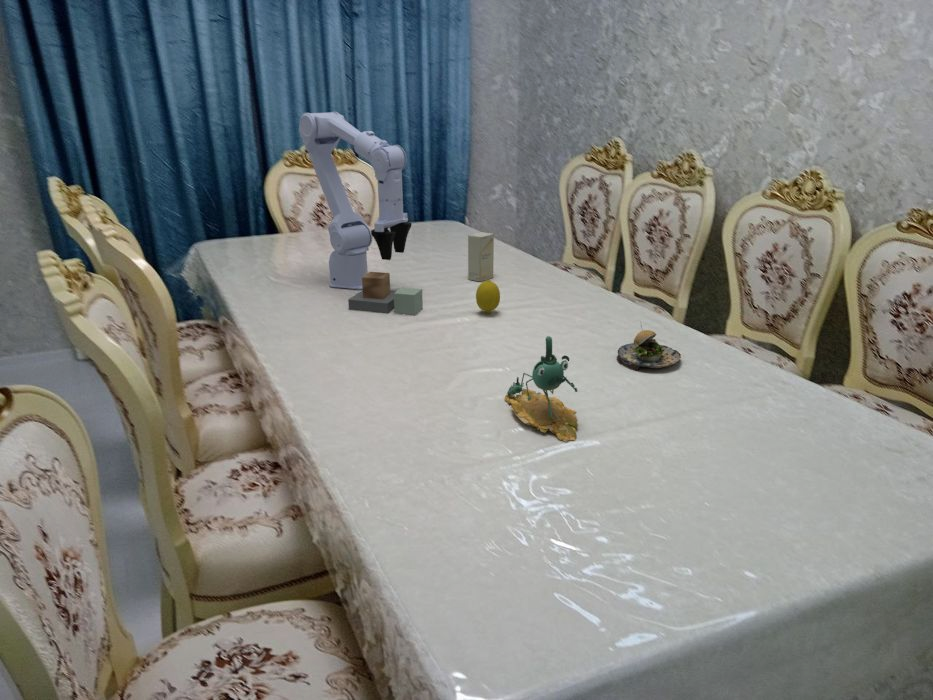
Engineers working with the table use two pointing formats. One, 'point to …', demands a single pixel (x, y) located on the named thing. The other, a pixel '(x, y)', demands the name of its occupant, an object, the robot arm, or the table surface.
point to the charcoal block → (372, 303)
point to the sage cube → (408, 301)
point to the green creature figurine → (545, 398)
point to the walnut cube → (376, 285)
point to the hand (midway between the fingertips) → (393, 255)
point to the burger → (646, 353)
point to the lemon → (488, 296)
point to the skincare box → (480, 256)
